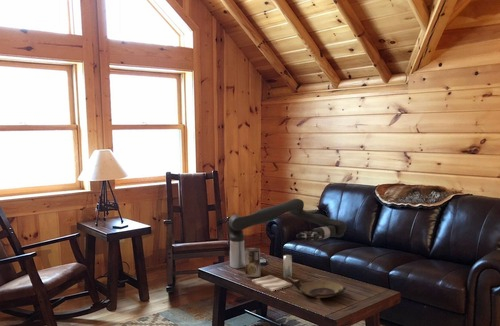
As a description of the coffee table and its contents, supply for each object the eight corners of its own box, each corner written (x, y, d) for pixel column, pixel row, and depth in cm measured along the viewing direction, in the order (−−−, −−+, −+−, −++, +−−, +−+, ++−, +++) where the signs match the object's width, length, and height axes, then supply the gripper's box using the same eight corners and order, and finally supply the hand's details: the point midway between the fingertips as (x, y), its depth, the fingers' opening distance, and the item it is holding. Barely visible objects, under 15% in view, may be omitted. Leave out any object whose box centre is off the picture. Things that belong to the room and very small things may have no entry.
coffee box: (260, 273, 265) (260, 247, 264) (260, 277, 259) (259, 250, 258) (246, 273, 266) (245, 247, 265) (244, 276, 260) (244, 250, 259)
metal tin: (281, 277, 258) (281, 255, 257) (288, 275, 261) (288, 254, 260) (287, 279, 254) (286, 257, 253) (293, 277, 257) (293, 256, 256)
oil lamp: (329, 308, 212) (329, 293, 211) (282, 293, 233) (282, 279, 232) (353, 295, 228) (353, 281, 227) (307, 282, 249) (307, 269, 248)
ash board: (251, 281, 250) (251, 279, 250) (271, 277, 258) (270, 275, 258) (272, 291, 235) (272, 289, 235) (291, 285, 243) (291, 283, 243)
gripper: (313, 225, 276) (293, 229, 267) (329, 229, 264) (309, 233, 255) (313, 237, 276) (293, 241, 267) (329, 241, 265) (309, 246, 256)
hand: (301, 237), depth 261 cm, fingers open, 8 cm apart
